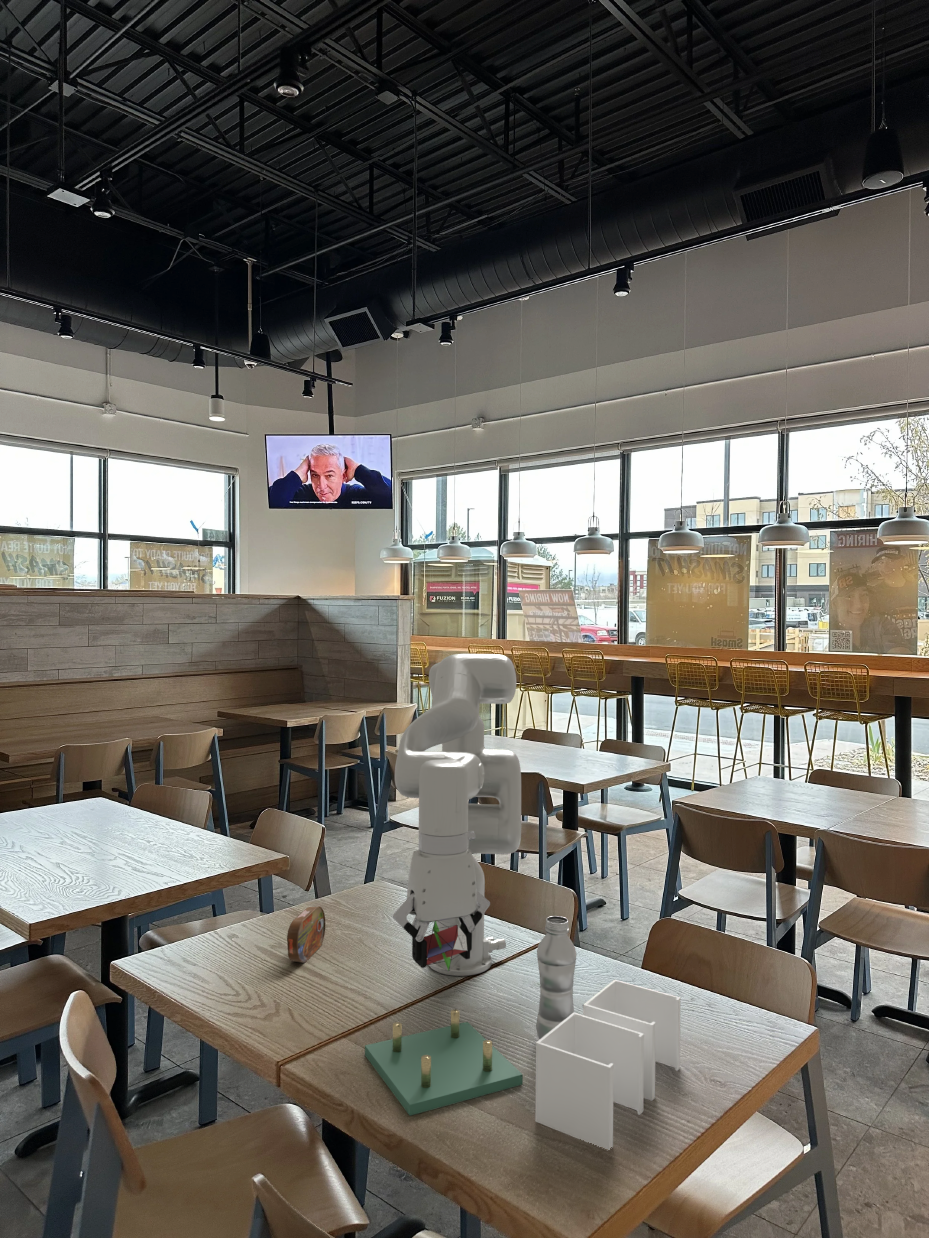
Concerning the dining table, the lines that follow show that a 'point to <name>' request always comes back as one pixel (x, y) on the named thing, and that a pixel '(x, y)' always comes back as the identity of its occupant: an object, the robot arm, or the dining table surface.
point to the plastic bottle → (555, 975)
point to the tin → (306, 934)
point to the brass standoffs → (427, 1059)
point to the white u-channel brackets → (605, 1059)
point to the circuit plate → (441, 1068)
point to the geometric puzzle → (445, 944)
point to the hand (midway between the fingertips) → (442, 959)
